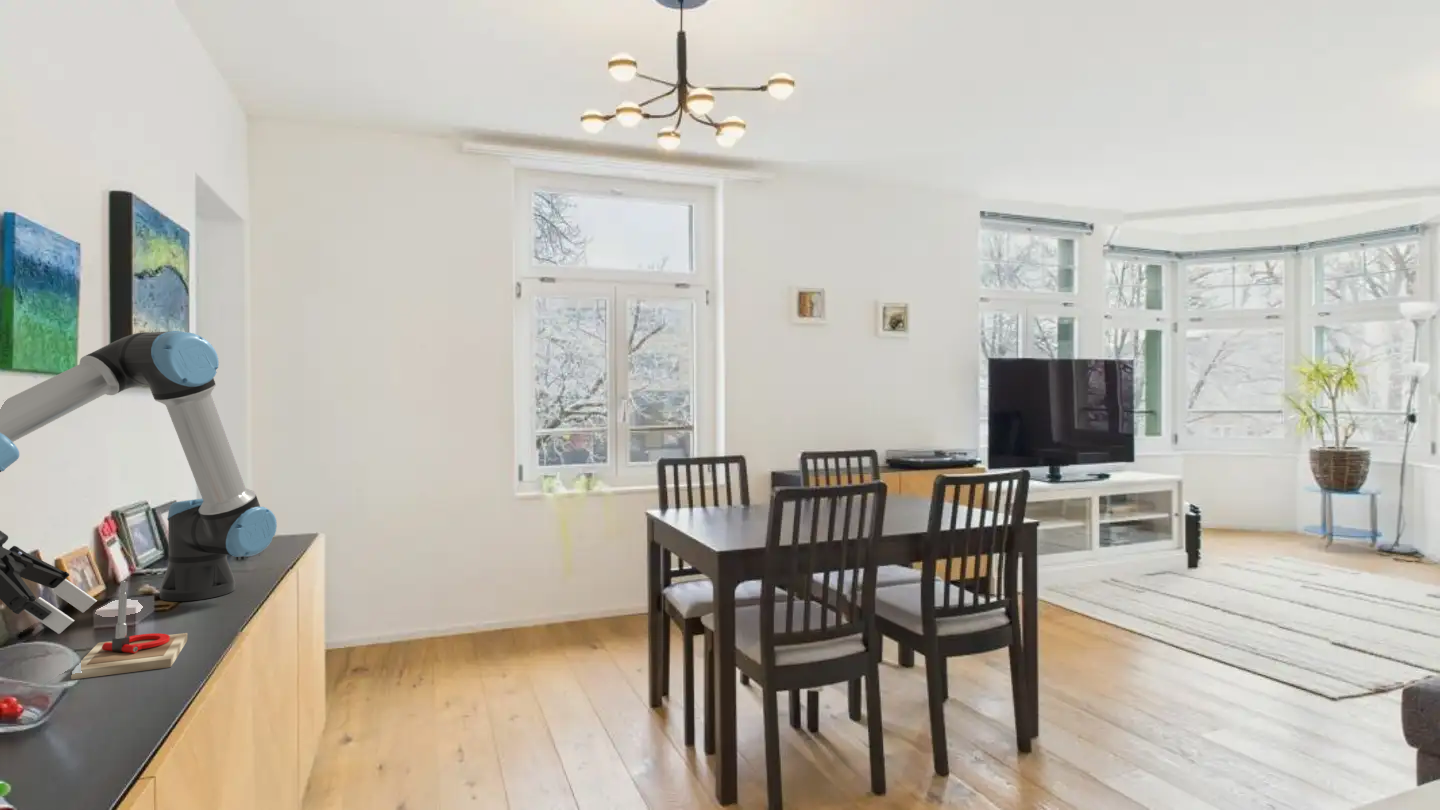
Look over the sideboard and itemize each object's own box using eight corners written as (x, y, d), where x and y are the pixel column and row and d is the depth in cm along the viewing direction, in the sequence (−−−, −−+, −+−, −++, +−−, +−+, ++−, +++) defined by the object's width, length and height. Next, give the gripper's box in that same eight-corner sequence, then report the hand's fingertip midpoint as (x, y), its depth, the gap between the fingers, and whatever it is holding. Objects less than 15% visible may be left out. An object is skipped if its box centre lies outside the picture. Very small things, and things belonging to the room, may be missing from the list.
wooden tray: (98, 650, 144) (98, 642, 144) (187, 640, 150) (187, 632, 150) (71, 679, 130) (71, 670, 130) (170, 667, 136) (170, 658, 136)
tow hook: (144, 637, 148) (96, 651, 139) (147, 571, 148) (100, 580, 139) (180, 641, 146) (135, 655, 137) (183, 573, 147) (138, 583, 138)
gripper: (-23, 542, 139) (81, 614, 146) (-92, 572, 117) (35, 655, 124) (15, 512, 142) (115, 584, 149) (-46, 535, 119) (76, 619, 126)
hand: (79, 616), depth 136 cm, fingers open, 13 cm apart
